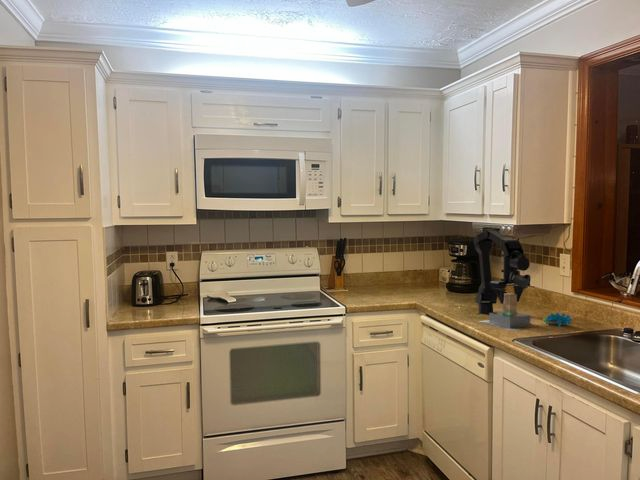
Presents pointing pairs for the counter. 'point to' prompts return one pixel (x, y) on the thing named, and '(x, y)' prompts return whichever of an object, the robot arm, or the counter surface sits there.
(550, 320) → the blue spiky toy
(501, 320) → the guide block
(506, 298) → the post
